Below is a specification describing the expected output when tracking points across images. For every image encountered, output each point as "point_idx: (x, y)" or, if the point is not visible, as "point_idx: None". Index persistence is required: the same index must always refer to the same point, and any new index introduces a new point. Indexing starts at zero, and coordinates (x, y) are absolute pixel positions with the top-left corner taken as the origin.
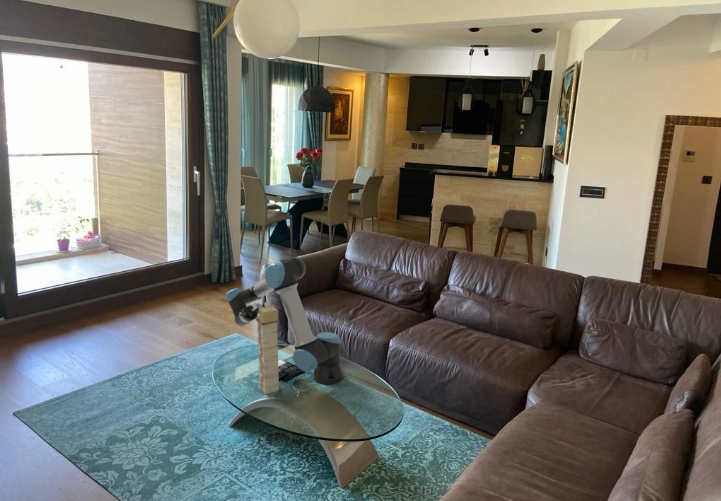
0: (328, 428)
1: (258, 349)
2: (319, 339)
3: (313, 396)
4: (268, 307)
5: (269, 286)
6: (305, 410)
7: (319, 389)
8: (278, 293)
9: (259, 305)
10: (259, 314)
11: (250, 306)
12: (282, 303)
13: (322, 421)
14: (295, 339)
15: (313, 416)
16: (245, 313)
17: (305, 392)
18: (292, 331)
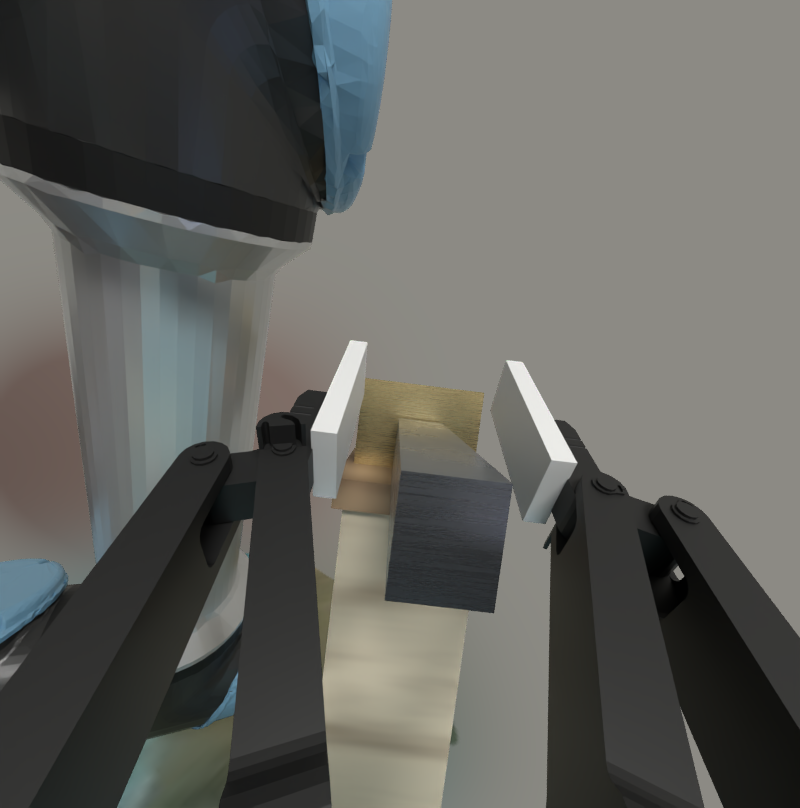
0: (331, 596)
1: (441, 787)
2: (50, 604)
3: (228, 736)
4: (407, 383)
5: (362, 178)
6: (322, 675)
7: (150, 777)
8: (275, 268)
9: (430, 448)
10: (476, 436)
11: (568, 428)
12: (243, 371)
13: (323, 617)
14: (230, 584)
15: (325, 641)
16: (687, 701)
17: (218, 793)
18: (232, 551)
